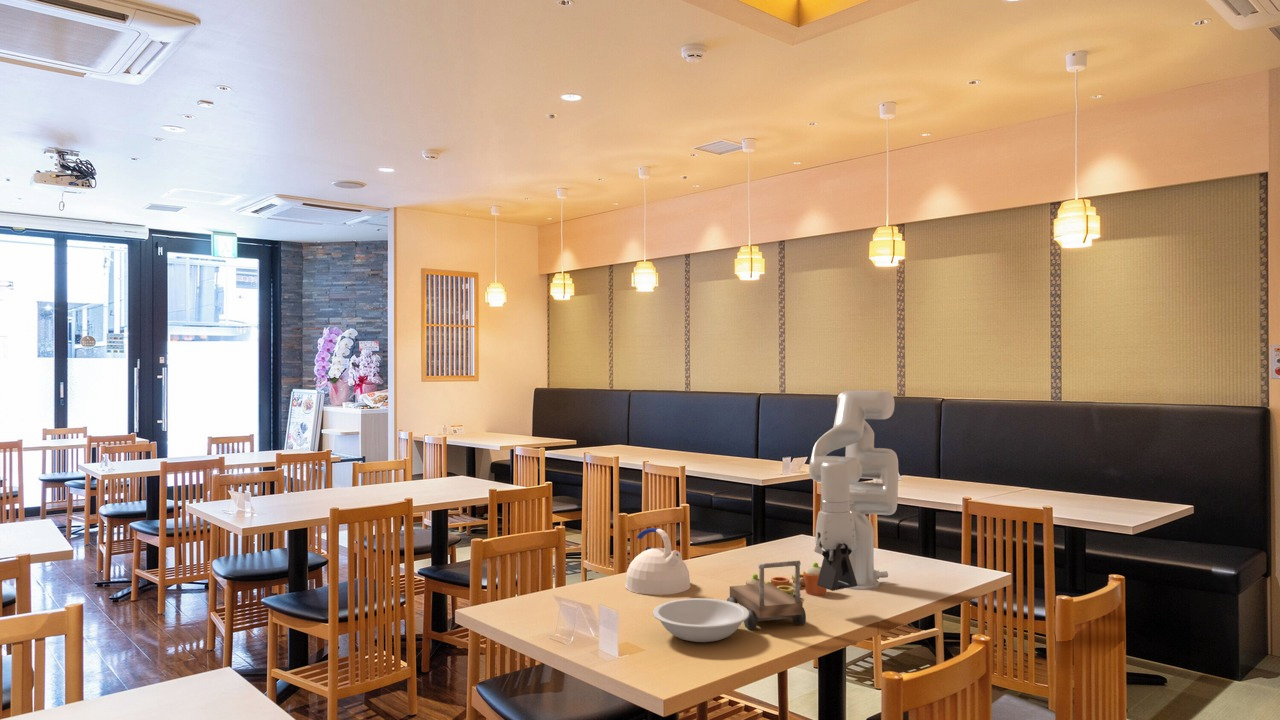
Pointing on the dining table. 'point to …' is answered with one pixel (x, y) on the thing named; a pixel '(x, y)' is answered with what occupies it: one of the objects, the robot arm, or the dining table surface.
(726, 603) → the soup bowl
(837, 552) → the phone stand
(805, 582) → the toy tea set
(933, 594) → the dining table surface
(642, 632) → the dining table surface
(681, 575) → the kettle
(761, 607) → the trolley
